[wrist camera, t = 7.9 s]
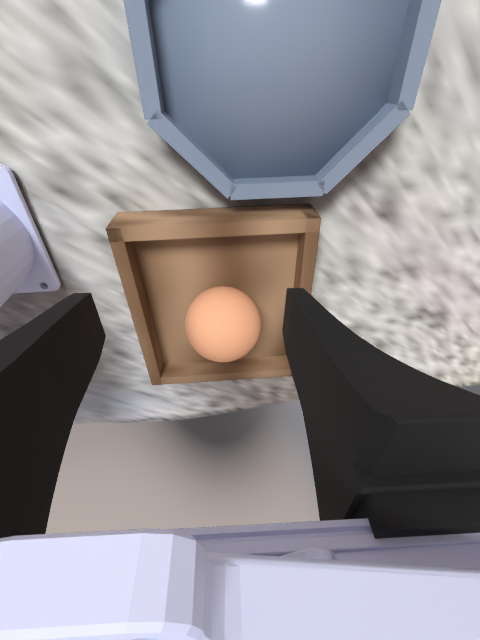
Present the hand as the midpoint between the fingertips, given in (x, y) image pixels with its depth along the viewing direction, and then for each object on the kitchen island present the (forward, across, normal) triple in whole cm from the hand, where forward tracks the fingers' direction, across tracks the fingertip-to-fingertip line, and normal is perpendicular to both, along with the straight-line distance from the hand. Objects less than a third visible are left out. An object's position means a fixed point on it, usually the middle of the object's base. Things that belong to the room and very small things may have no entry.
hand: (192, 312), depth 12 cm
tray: (+10, -1, +6) cm, 12 cm away
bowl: (+10, -4, -8) cm, 14 cm away
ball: (+7, -1, +6) cm, 9 cm away
